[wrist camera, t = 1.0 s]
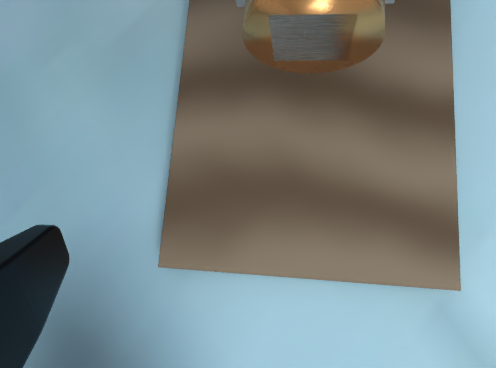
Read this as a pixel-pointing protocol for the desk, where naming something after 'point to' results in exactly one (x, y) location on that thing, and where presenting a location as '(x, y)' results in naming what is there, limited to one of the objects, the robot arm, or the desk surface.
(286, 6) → the gold rounded piece
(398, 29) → the walnut board
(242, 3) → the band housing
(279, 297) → the desk surface
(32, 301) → the robot arm
